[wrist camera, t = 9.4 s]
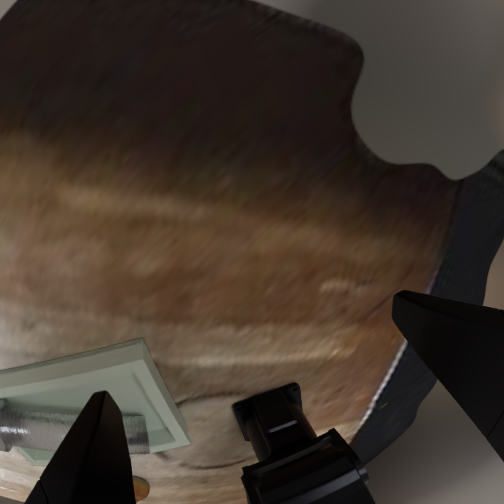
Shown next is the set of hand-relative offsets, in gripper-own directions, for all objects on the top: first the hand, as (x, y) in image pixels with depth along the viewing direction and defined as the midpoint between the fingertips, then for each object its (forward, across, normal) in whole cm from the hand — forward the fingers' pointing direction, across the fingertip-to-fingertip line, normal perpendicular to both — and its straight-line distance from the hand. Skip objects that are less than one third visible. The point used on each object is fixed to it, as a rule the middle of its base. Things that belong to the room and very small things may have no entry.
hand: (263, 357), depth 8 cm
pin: (+11, +9, +15) cm, 21 cm away
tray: (+13, +15, +12) cm, 23 cm away
